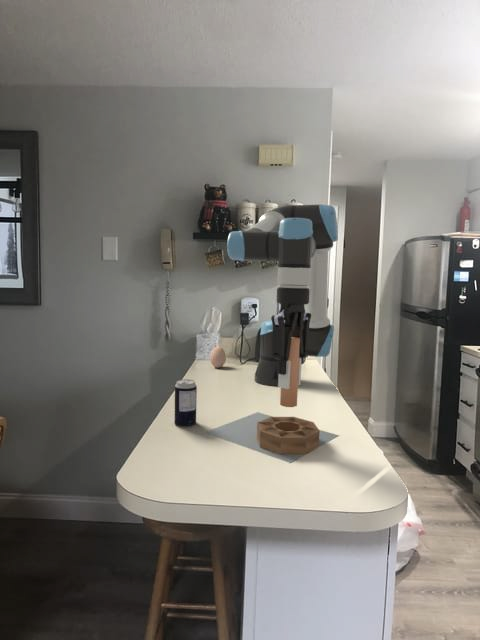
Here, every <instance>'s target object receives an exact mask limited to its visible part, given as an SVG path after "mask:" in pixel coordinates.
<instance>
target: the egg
mask: <svg viewBox="0 0 480 640" xmlns="http://www.w3.org/2000/svg"><path fill="white" fill-rule="evenodd" d="M209 360H210V364H211V365H212V366H213V367H214V368H216V369H219V368H221V367H223V366H224V365H225V363H226V360H227V354H226V352H225V350H224V348H222V346H220V345H217V346H215V347H214V348H213V349H211V352H210V356H209Z"/></svg>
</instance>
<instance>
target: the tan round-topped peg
mask: <svg viewBox="0 0 480 640" xmlns="http://www.w3.org/2000/svg"><path fill="white" fill-rule="evenodd" d="M299 347H300V338H297V337H292V339H291V345H290V352H289V359H288V360H289V361H291V365H290V389H285V388H281V387H280V398H279V400H280V401H279V404H280V406H281V407H284V408H295V407H297V406H298V392H299V391H298V390H299V385H298V371H299Z"/></svg>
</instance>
